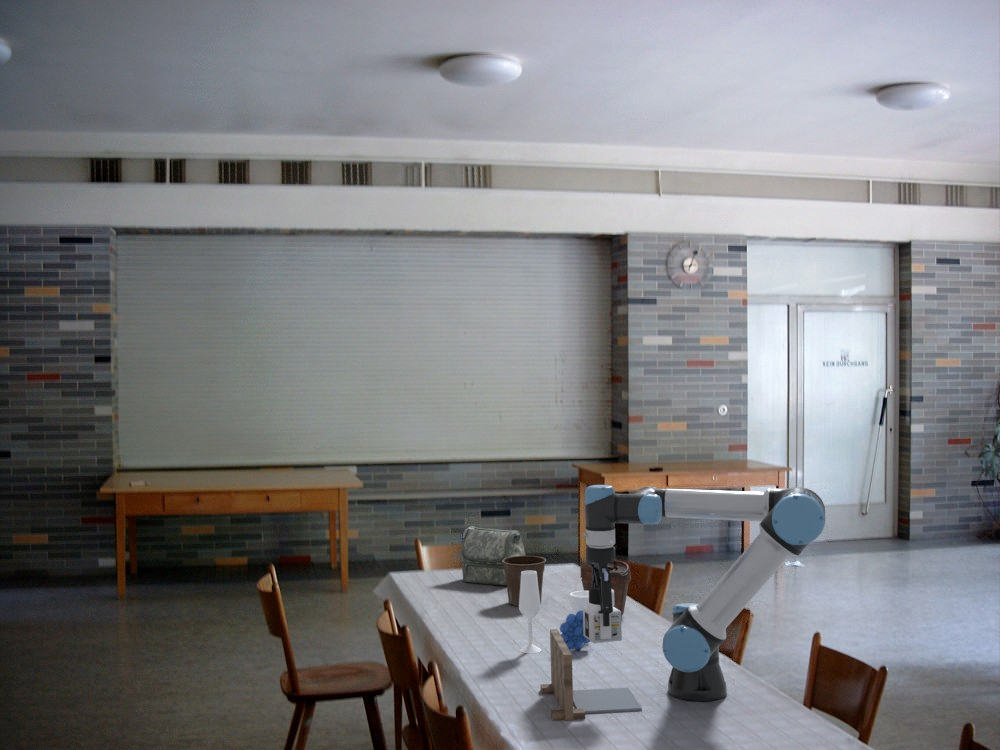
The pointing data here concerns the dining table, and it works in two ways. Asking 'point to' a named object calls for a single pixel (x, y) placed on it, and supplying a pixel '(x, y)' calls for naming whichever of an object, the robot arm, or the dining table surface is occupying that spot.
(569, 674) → the screen
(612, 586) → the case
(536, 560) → the plant pot
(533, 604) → the champagne flute
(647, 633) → the dining table surface
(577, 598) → the foam cup
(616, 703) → the mat
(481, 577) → the lunch bag
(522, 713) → the dining table surface
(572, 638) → the grapes
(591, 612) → the container
